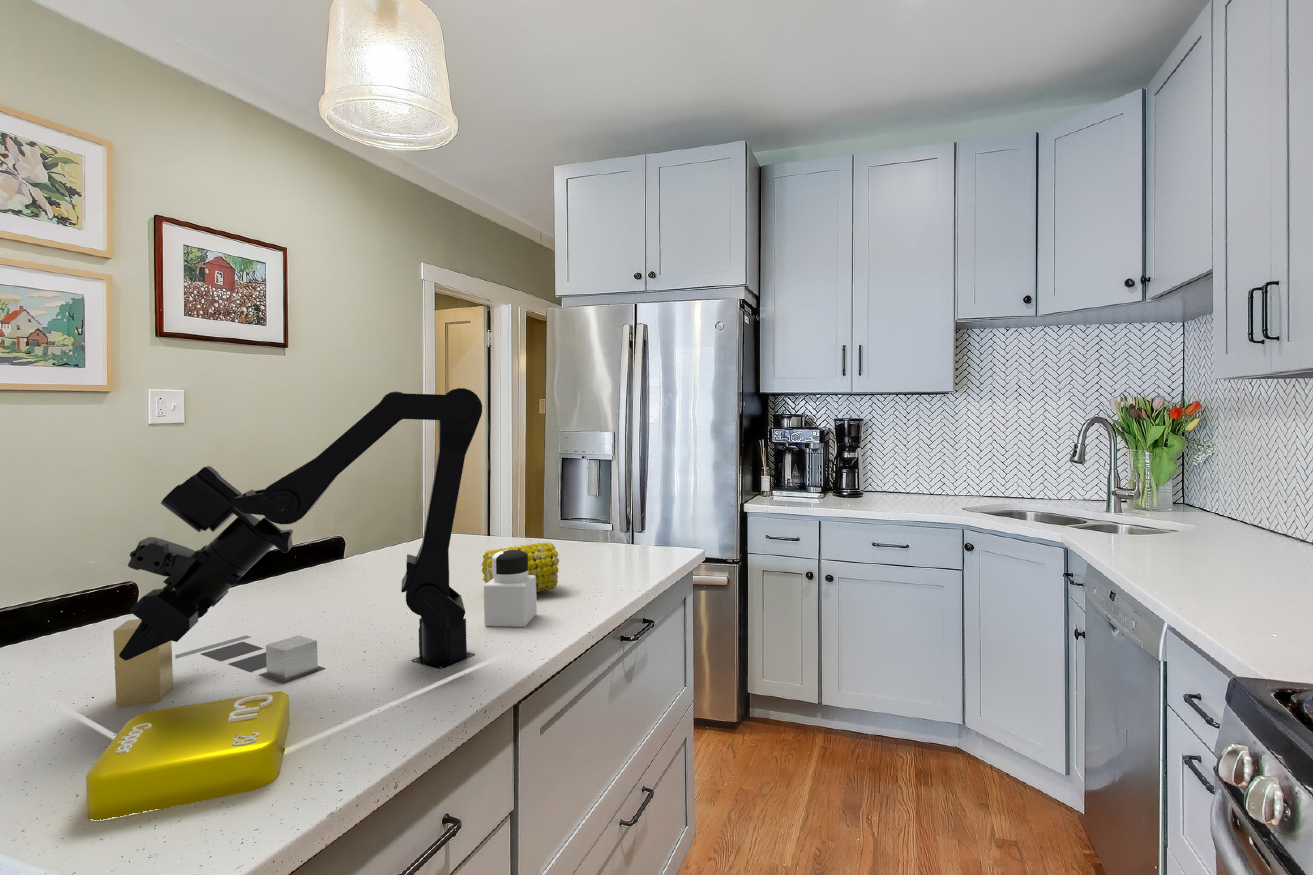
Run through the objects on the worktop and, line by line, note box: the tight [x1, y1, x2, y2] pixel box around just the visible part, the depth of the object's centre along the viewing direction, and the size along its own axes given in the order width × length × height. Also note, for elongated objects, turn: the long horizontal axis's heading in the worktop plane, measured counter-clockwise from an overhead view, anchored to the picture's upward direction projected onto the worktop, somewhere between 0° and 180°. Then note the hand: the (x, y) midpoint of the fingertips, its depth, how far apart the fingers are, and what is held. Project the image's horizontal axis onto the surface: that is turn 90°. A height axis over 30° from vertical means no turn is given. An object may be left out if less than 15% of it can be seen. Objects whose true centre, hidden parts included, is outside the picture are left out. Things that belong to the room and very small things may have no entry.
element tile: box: [85, 690, 291, 820], centre depth 67 cm, size 15×15×5 cm
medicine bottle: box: [483, 550, 538, 628], centre depth 114 cm, size 7×7×12 cm
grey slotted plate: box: [174, 634, 327, 685], centre depth 95 cm, size 26×10×1 cm, turn 59°
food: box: [481, 541, 560, 593], centre depth 130 cm, size 15×12×10 cm
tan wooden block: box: [112, 618, 174, 709], centre depth 83 cm, size 4×4×10 cm
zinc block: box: [265, 635, 319, 681], centre depth 91 cm, size 4×4×4 cm
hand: (130, 651), depth 82 cm, fingers closed on tan wooden block, 4 cm apart
